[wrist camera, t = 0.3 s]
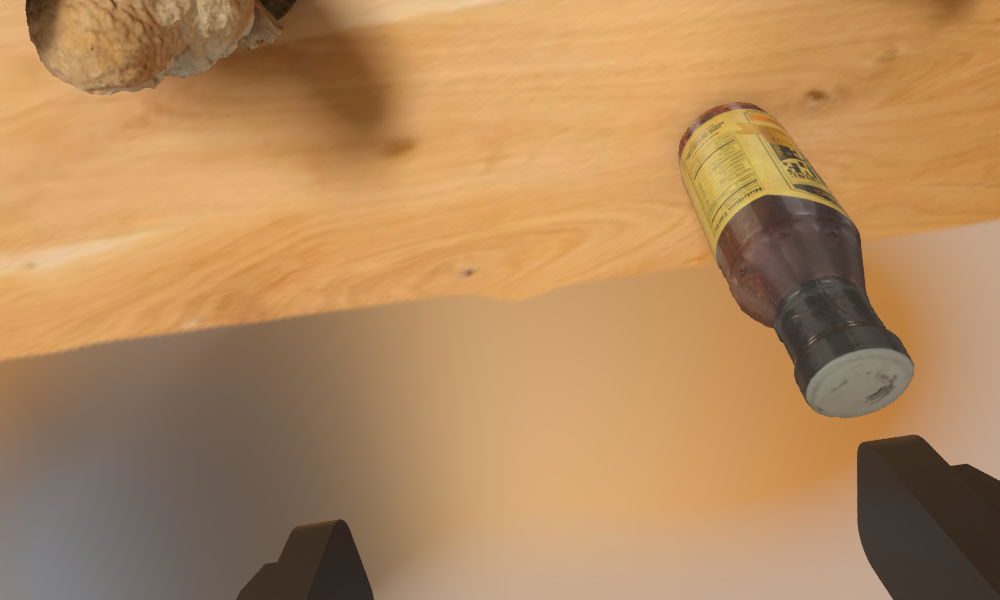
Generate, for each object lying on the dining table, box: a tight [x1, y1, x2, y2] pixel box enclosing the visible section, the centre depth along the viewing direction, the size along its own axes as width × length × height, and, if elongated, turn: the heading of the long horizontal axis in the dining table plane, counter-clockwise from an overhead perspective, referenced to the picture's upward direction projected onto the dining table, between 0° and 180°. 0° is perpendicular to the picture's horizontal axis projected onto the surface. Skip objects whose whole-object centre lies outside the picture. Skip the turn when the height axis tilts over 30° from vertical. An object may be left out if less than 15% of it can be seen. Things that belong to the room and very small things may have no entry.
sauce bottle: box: [679, 102, 914, 418], centre depth 33 cm, size 7×6×20 cm
